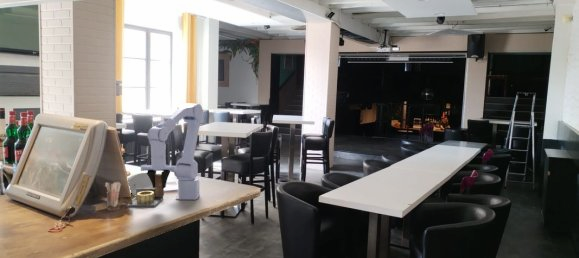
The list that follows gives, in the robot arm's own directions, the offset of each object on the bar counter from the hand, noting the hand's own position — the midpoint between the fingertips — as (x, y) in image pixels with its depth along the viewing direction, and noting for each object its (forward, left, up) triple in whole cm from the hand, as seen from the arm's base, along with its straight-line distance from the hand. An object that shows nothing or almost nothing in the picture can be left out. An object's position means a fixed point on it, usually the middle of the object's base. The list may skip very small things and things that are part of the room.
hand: (159, 187), depth 180 cm
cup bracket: (+9, -9, -10) cm, 16 cm away
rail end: (0, 0, -3) cm, 3 cm away
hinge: (+17, -28, -10) cm, 34 cm away
